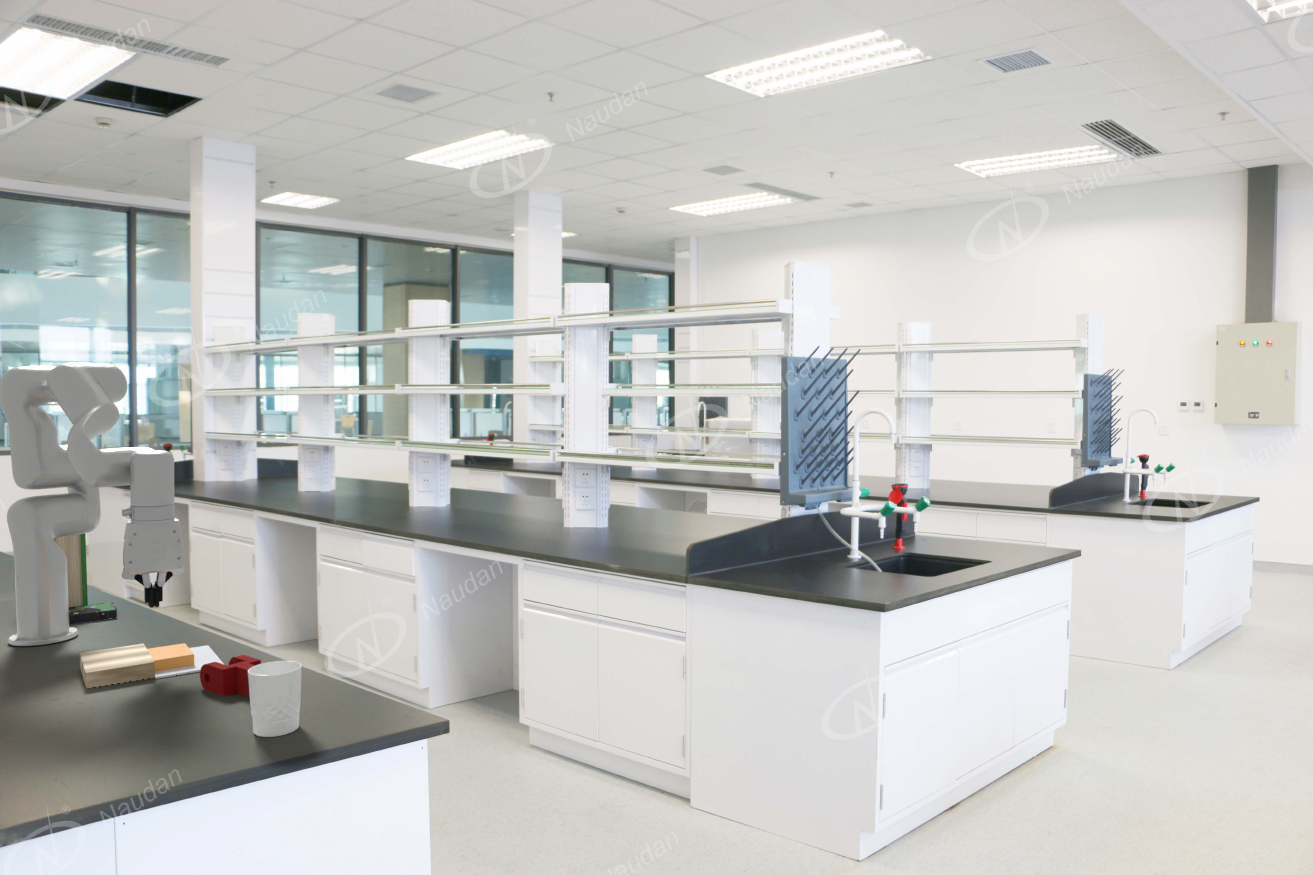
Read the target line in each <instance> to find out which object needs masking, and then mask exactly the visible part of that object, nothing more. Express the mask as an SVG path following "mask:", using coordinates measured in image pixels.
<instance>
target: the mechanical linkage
mask: <svg viewBox="0 0 1313 875" xmlns="http://www.w3.org/2000/svg"><path fill="white" fill-rule="evenodd" d="M258 664H262V659H259V658H256V657H253V656H248V655H246V654H242V655H237V656H234V657H231V658H230V659H229V662H228V664H225V663H223V664H221V663H218V662H212V663H208V664H204V665H203V666H202V667H201V670H200V672H199V680H200V684H201V687H202V688H203V690H205V691H208V692H210V693H213V694H216V695H219V696H221V697H226V696H230V695H234V694H238V695H241V696H245V697H247V698H250V695H249V682H248V670H249V669H250V668H251V667H253V666H256V665H258Z"/></svg>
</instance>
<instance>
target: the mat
mask: <svg viewBox="0 0 1313 875" xmlns="http://www.w3.org/2000/svg"><path fill="white" fill-rule="evenodd" d="M189 649H190V650H191V651H192V652H193V653H194V665H193V666H187V667H181V668H175V669H169V670H163V671H157V672H155V678H154V679H155V680H157V679H164V678H165V679H166V678H172V677H176V675H177V676H182V675H188V673H189V674H196V673H200V670H201V667H202V666H203V665H204V664H208V663H212V662H218V663H221V664H224V662H223V661H222V660H221V659H220V658H219V656H218V655H217V654H216V653H215V651H214V650H213V649H212V648H211V646H209V645H202V646H201V645H200V646H194V647H189Z"/></svg>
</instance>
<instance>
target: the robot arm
mask: <svg viewBox="0 0 1313 875" xmlns="http://www.w3.org/2000/svg"><path fill="white" fill-rule="evenodd" d="M127 381H128V380H127V377H126V376H125V374H124V372H123V371H122V370H121V369H120V368H119V367H118V366H116V365H113V364H110V363H102V362H101V363H99V362H98V363H97V362H96V363H94V362H66V363H65V362H64V363H62V364H58V365H57V366H50V365H25V366H24V365H23V366H17V367H13V368H11V369H9V370H6V371H5V372H4V373H3V374H2V376H1V377H0V406H1V409H2V412H3V414H4V417H5V419H6V423H7V426H8V432H9V434H8V436H9V448H10V461H11V470H12V471H11V472H12V477H13V480H14V483H15V485H16V486H17V487H19V488H20V489H23V490H31V491H32V490H33V491H34V490H49V489H60V488H67V493H58V494H57V493H56V494H55V493H54V494H44V495H42V494H41V495H33V496H27V497H24V498H20V499H18V500H16V501H15V502H13V503H12V504H11V505H10V506H9V508H8V510H7V512H6V513H7V514H6V521H7V522H6V524H7V526H8V530H9V534H10V538H11V543H12V550H13V562H14V587H15V588H14V590H15V609H16V611H15V614H16V633H14V634H12V635H11V636H9V637H8V644H9V645H11V646H16V647H33V646H34V647H35V646H44V645H51V644H55V643H59V642H60V643H61V642H65V641H67V640H70V639H73V638H75V637H76V636H78V632H79V630H78V628H76V627H75V626H70V624H69V604H68V575H67V558H66V555H65V553H64V551H63V550H62V549H61V548H60V547H59V546H58V545H57V544H56V542H55V541H54V538H58V537H63V536H70V535H78V534H84V533H85V534H87V533H91V532H93V531H94V530H96V529H97V528H98V526H99V525H100V520H101V515H102V514H101V498H100V497H101V495H100V488H108V487H109V488H111V487H122V486H130V487H129V488H130V493H129V494H130V505H129V506H128V508H124V509H121V516H122V517H126V518H129V519H130V520H127V522H126V525H125V531H124V536H123V537H124V538H123V550H122V564H123V566H122V567H123V569H122V573H121V578H122V579H124V580H132V581H137V582H138V583H139V584H140V585H142V586H143V587H144V589H143V590H144V599H143V600H144V604H147V606H148V607H149V609H151V608H152V609H153V608H154V607H155V608H160V602H163V600H164V596H163V595H164V594H163V591H164V590H163V588H164V586H165V585H166V583H167V582H168V581H169V580H170V579H171V578H172V577H176V576H179V575H181V574H183V573H185V568H184V558H185V557H184V543H183V533H182V527H181V522H180V519H178V518H176V516H175V515H176V514H175V458H174V457H175V456H174V455H173V453H172V452H170V451H167V450H159V449H157V450H156V449H154V448H152V447H148V446H134V447H111V448H109V447H108V448H106V447H105V448H97V447H96V446H95V445H94V443H93V442H92V440H93V439H94V438H97V437H99V436H101V435H103V434H105V433H108V432H109V431H110V430H111V429H112V428H113V427H114V426H115V425H116V424H117V423H118V420H119V418H120V411H119V408H118V407H117V405H116V404H115V403H118V402H120V401H121V400H123V398H125V396H126V394H127V392H128V382H127ZM42 406H60V408H61V409H62V411H63V412H64V414H65V415H66V417H67V418H68V420H69V421H70V423H71V428H69V431H68V434H67V439H66V444H59V443H58V436H57V425H56V423H55V420H54V419H53V418H52V417H51V416H50V414H48V412H47V411H46V410H45V409H43V408H42ZM152 573H153V574H154V573H156V579H155V581H154V584H153V582H152V581H151V577H150V574H152Z"/></svg>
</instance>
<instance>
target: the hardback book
mask: <svg viewBox="0 0 1313 875" xmlns="http://www.w3.org/2000/svg"><path fill="white" fill-rule="evenodd" d="M54 541H55V542H56V544H57V545H58V546H59V547H60V548H61V549H62V550H63V551H64V553H65V555H66V558H67V575H68V604H69V607H75V606H84V605H89V602H88V572H87V546H86V545H87V544H86V543H87V542H86V533H84V534H78V535H70V536H63V537H58V538H54Z"/></svg>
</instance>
